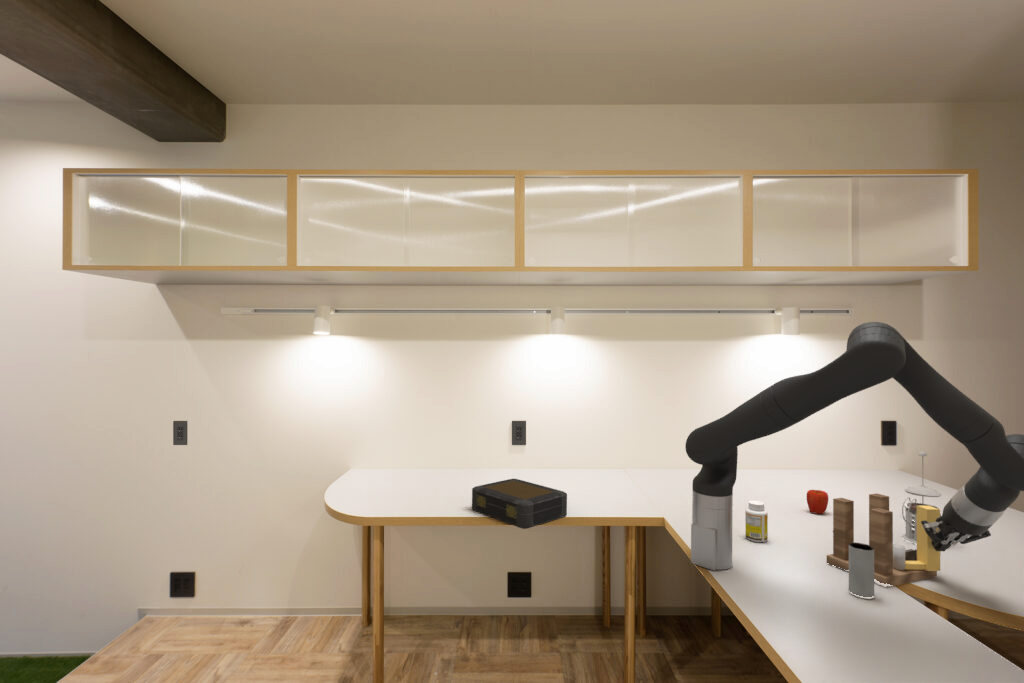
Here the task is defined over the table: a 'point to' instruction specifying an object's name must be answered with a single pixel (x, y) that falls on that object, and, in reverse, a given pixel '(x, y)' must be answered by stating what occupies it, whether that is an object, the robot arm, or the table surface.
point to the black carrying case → (519, 502)
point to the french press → (912, 509)
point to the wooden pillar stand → (872, 541)
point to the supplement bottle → (756, 522)
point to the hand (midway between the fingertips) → (937, 547)
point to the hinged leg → (920, 545)
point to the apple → (817, 501)
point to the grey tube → (861, 569)
